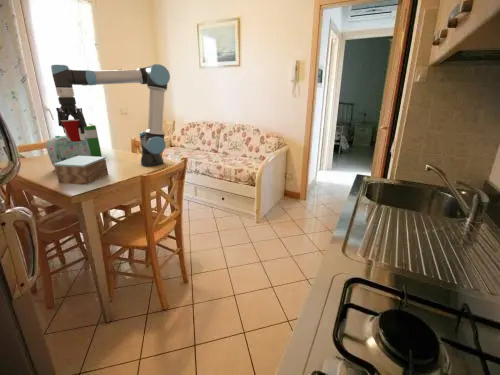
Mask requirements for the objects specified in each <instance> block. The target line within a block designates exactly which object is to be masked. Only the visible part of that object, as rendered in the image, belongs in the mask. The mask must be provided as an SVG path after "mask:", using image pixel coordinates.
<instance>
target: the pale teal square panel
mask: <svg viewBox="0 0 500 375" xmlns="http://www.w3.org/2000/svg"><path fill="white" fill-rule="evenodd" d="M104 159H105V160H106V159H107V157H106V156H101V157H95V156H76V157H73V158H70V159H67V160H64V161H61V162H58V163H55V164H53V165H52V167H54V166H67V167H86V166H89V165H91V164H94V163H96V162H99V161H101V160H104Z"/></svg>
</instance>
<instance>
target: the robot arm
mask: <svg viewBox="0 0 500 375" xmlns="http://www.w3.org/2000/svg"><path fill="white" fill-rule="evenodd" d="M50 70H51V74H52V78H53V82H54V85H55V86H54V87H55V91H56V95H57V96H58V98H57V99H58V103H59V105H60V107H56V108H55V109H56V113H57V121H58V126H59V127H62V129H63V133H64V134H65V135H64V136H66V139H67V140H68V139H70V138H69V136H68V134H67V132H66V129H65V127H64V125H63V123H62V122H61V120H70V119H69V118H70V116H71V117H72V119H73V120H78V119H79V120H80V123H78V124H79V127H78V129H79V136H80V140H84V139H85V136H84V134H85V131H84V127H86V126H87V125H88V124H87V122H86V119H85V116H84V114H83V108H82V107H77V105H76V104H77V102H76V98H75V92H74V91H75V90H74V88H73V85H74V86H96V85H118V84H119V85H121V84H140V85H147V89H149V98H148V100H149V101H148V123H147V124H148V125H147V129H146V130H145V131H140V132H139V140H140V147H141V153H142V155H141V159H140V164H141V166H143V167H156V166H161V165H163V164H164V159H163V156H162V153H163V152H164V151H165V150H166V146H167V145H166V141H165V133H164V131H163V123H164V122H163V120H164V107H165V106H164V105H165V92H167V90H168V83H169V81H171V80H170V78H171V75H170V72H169V70H168V69H167V67H166V66H165V65H162V64H157V63H156V64H152V65H149V66H146V67H138V68H137V69H125V70H124V69H121V70H120V69H114V70H89V69H70V68H69V66H68V65H67V64H52V65H51V66H50Z"/></svg>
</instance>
